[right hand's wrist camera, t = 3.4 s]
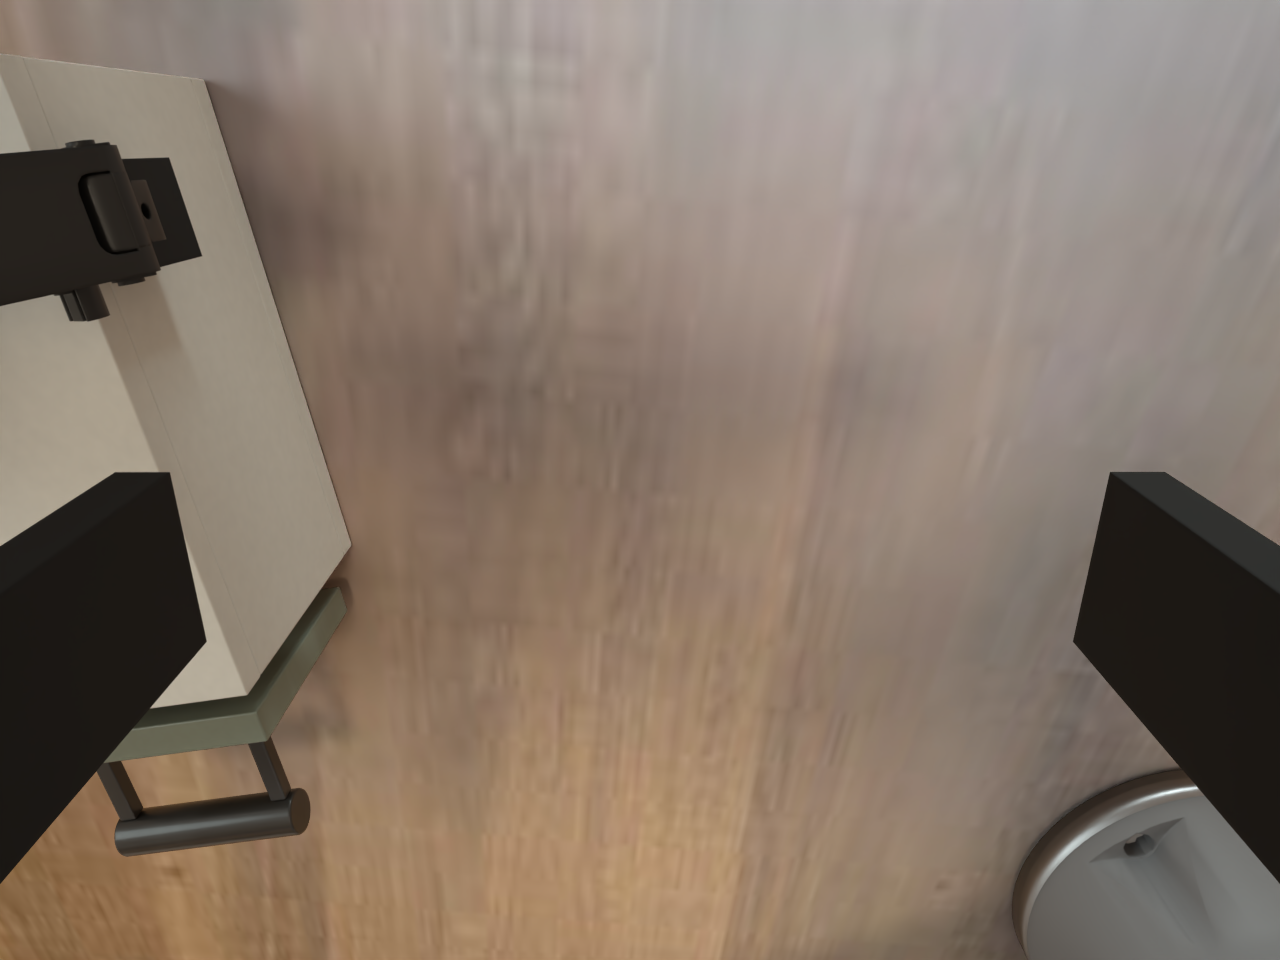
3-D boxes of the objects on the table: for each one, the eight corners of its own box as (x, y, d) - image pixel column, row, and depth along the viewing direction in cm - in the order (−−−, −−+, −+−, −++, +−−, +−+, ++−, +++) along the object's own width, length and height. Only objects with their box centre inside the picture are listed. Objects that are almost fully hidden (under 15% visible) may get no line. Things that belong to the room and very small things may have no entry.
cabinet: (352, 545, 36) (247, 695, 27) (104, 581, 37) (-86, 741, 27) (204, 78, 30) (-8, 52, 20) (-95, 133, 30) (-441, 132, 21)
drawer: (385, 725, 38) (320, 876, 31) (176, 753, 39) (60, 908, 31) (212, 198, 30) (62, 222, 22) (-50, 244, 31) (-286, 282, 23)
